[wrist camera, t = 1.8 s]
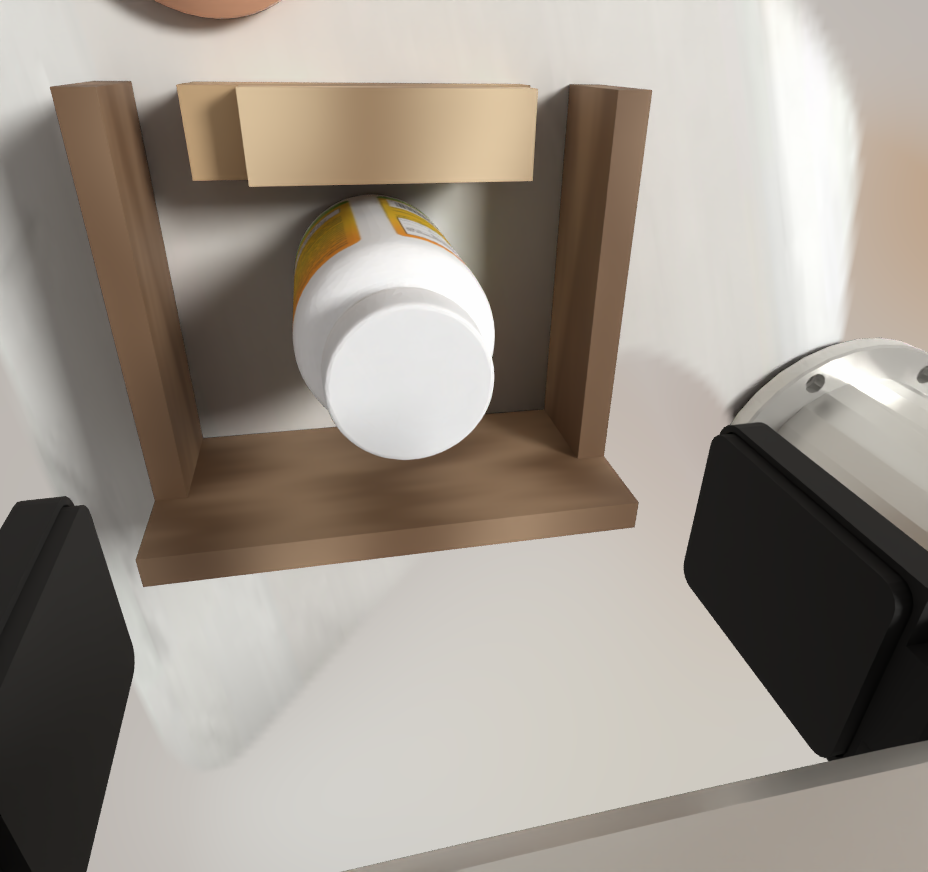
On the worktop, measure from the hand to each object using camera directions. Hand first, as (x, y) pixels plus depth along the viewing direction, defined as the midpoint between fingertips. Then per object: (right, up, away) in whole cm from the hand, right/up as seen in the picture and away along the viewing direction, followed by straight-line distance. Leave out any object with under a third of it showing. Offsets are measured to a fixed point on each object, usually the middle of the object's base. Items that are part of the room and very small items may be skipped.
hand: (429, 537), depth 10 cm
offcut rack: (-3, +7, +13) cm, 16 cm away
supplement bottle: (-3, +7, +14) cm, 16 cm away
